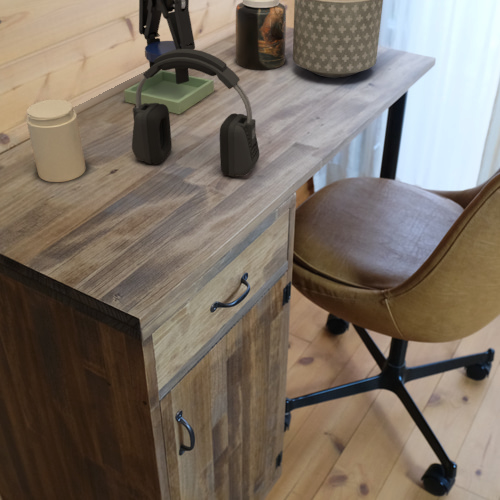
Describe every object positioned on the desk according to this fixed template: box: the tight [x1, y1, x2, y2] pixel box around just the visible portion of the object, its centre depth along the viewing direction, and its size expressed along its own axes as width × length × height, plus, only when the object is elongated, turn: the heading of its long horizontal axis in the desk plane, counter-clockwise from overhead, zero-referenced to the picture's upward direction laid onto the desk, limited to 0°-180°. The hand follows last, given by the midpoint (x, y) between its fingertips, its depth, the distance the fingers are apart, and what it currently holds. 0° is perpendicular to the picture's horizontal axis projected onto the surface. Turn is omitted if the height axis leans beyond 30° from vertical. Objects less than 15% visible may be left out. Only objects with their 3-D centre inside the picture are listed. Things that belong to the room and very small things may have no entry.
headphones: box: [131, 49, 260, 178], centre depth 108 cm, size 22×6×20 cm, turn 72°
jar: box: [235, 0, 287, 71], centre depth 151 cm, size 12×12×15 cm
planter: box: [292, 0, 384, 79], centre depth 144 cm, size 19×19×18 cm
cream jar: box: [25, 99, 87, 183], centre depth 108 cm, size 8×8×12 cm
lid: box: [144, 40, 181, 62], centre depth 132 cm, size 9×9×2 cm
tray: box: [123, 69, 215, 115], centre depth 137 cm, size 14×14×2 cm
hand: (169, 76), depth 135 cm, fingers closed on lid, 9 cm apart
